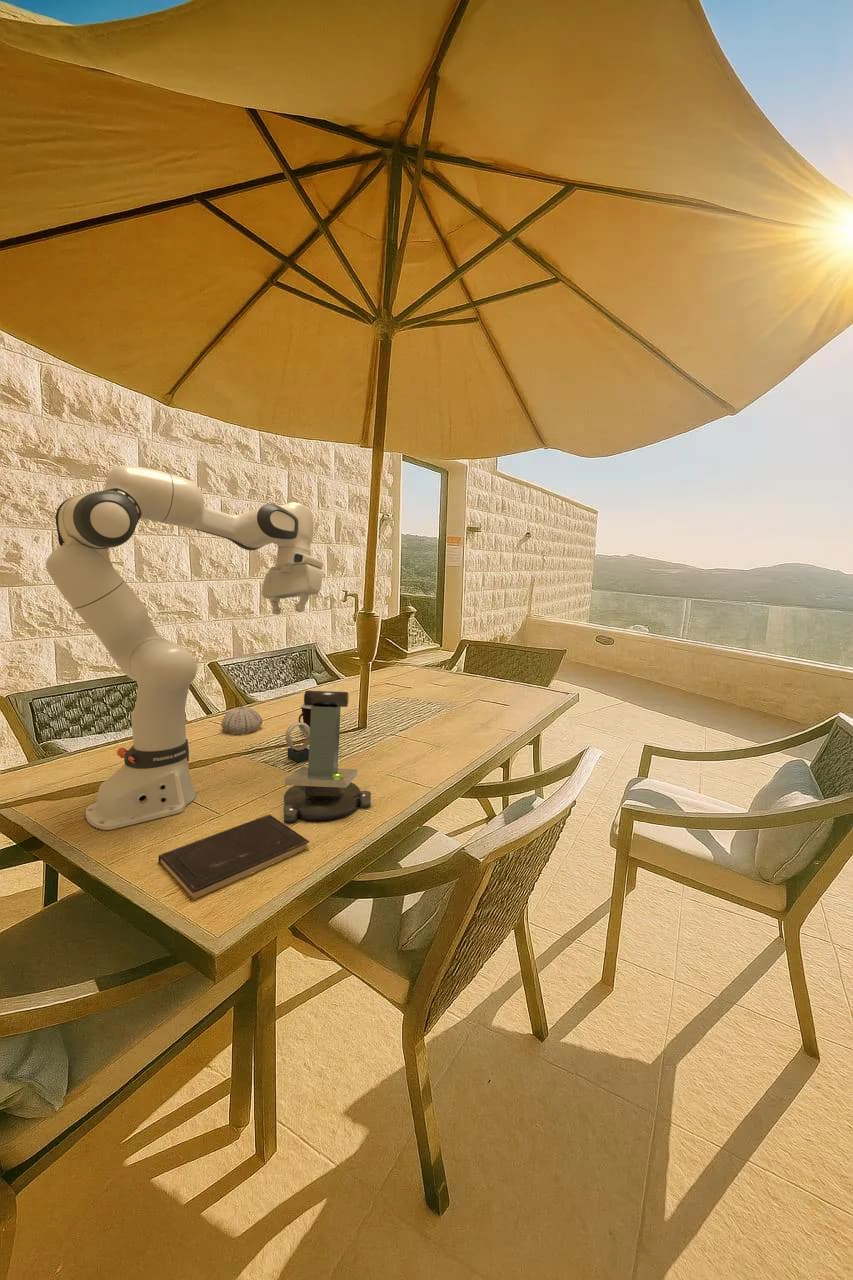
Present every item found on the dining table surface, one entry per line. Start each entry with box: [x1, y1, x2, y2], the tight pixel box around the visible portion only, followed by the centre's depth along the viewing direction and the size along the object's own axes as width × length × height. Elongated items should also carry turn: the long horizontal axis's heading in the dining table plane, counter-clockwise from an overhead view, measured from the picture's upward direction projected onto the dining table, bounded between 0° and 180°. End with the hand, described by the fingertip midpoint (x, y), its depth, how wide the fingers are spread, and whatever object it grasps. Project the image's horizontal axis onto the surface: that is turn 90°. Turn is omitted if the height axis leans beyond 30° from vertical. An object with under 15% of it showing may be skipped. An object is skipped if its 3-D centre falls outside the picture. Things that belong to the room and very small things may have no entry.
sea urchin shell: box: [220, 706, 263, 735], centre depth 173 cm, size 13×14×8 cm
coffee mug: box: [298, 703, 311, 727], centre depth 170 cm, size 12×9×10 cm
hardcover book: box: [158, 813, 310, 900], centre depth 99 cm, size 16×23×2 cm
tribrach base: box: [283, 781, 372, 825], centre depth 121 cm, size 20×21×6 cm
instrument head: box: [283, 690, 358, 788], centre depth 122 cm, size 14×14×21 cm
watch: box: [284, 721, 310, 764], centre depth 148 cm, size 6×8×11 cm
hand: (287, 612), depth 135 cm, fingers open, 8 cm apart
